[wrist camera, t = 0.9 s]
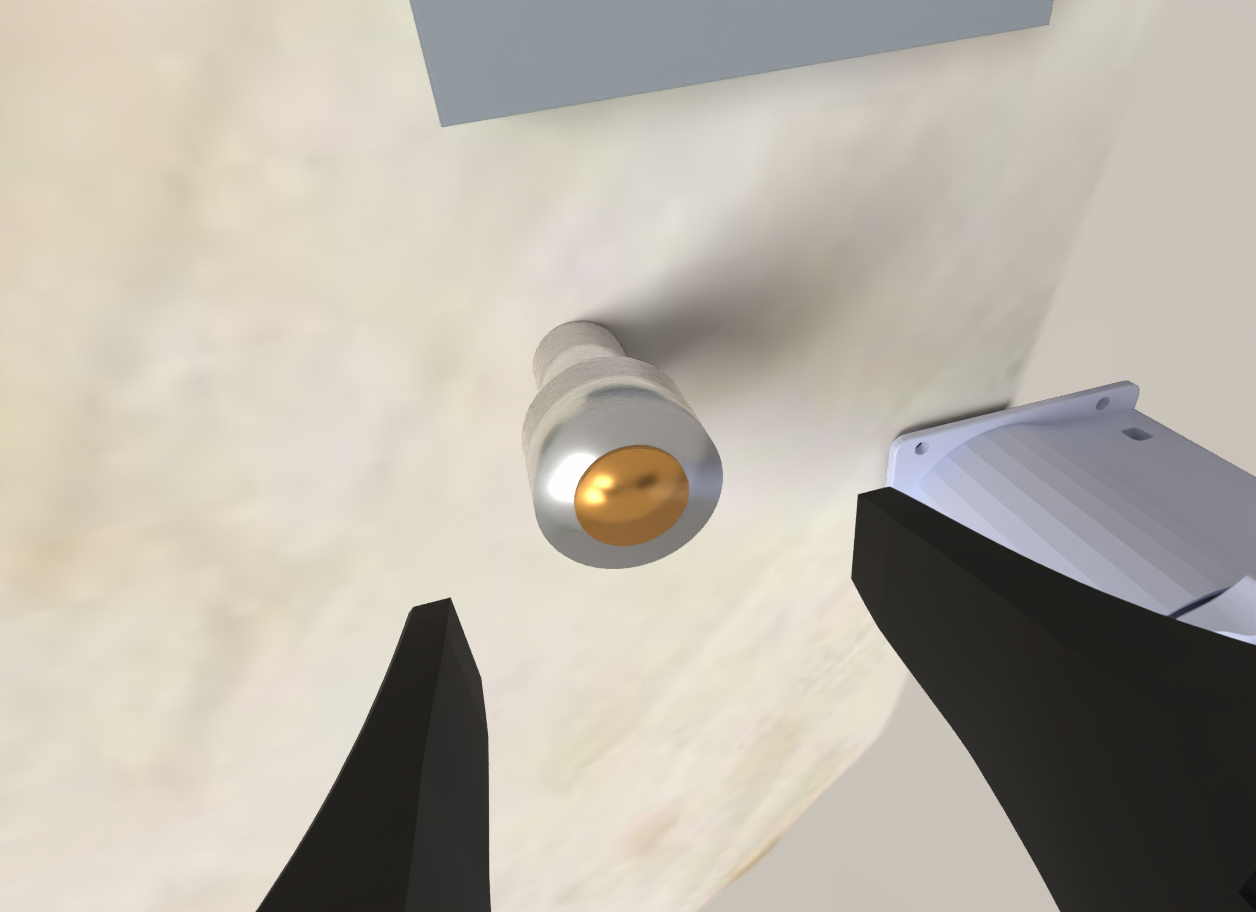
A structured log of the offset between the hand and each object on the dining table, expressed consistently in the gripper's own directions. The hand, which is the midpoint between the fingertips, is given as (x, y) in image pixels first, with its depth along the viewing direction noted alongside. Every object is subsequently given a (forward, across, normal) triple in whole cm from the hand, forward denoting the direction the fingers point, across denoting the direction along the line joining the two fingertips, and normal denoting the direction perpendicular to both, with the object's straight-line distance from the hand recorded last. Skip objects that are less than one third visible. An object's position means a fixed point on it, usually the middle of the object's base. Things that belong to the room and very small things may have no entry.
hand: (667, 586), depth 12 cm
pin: (+9, 0, 0) cm, 9 cm away
